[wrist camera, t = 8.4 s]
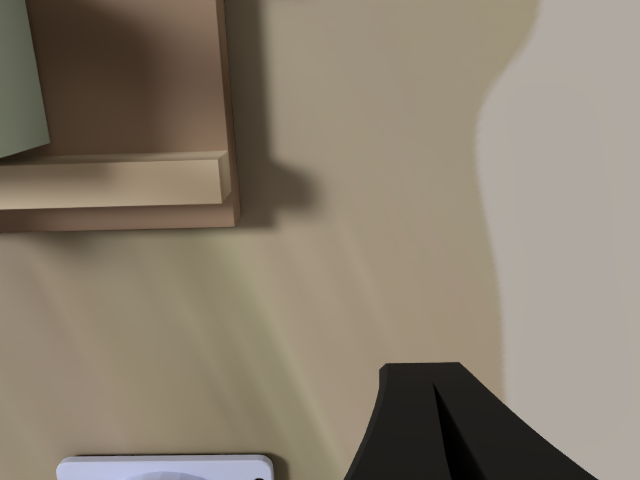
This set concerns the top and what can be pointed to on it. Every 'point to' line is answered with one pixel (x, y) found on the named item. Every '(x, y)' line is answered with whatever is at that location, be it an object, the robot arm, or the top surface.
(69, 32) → the track
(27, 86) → the block
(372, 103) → the top surface
